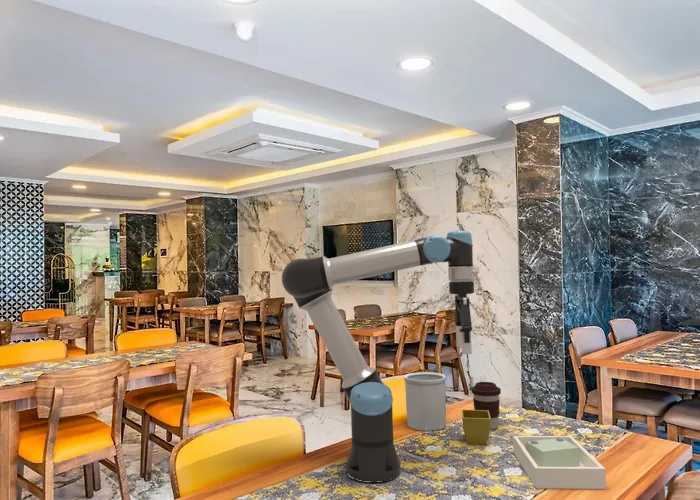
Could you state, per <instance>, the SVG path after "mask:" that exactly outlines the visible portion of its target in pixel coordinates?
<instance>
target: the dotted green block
mask: <svg viewBox="0 0 700 500" xmlns="http://www.w3.org/2000/svg"><path fill="white" fill-rule="evenodd" d="M527 452H528V453H529V454H530V456H531V457H532V459H533V460H534V462H535V463H536V464H537V466H538V467H577V466H580V458H579V447H577V446H575V445H573V444H571V443H570V442H568V441H566V440H564V439H562V438H556V439H546V440H537V441H528V442H527Z"/></svg>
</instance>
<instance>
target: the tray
mask: <svg viewBox="0 0 700 500" xmlns="http://www.w3.org/2000/svg"><path fill="white" fill-rule="evenodd" d="M556 438H562V439H564V440H566V441H568V442H570V443H571V444H573V445H575V446H577V447H579V458H580V466H577V467H538V466H537V464H536V463H535V462H534V460H533V459H532V457H531V456H530V454H529V453H528V452H527V442H528V441H537V440H546V439H556ZM512 442H513V443H512V444H513V445H512V446H513V454H514V455H515V457H516V459H517V460H518V462H519V464H520V466H521V467H522V468H523V470H524V471H525V473H526V475H527V477H528V478H529V480H530V481H531V483H532V484H533V486H534V488H535V489H558V490H559V489H561V490H562V489H564V490H566V489H567V490H569V489H570V490H572V489H573V490H574V489H575V490H607V479H606V478H607V477H606V468H605V467H604V466H603V465H602V464H601V463H600V462H599V461H598V460H597V459H596V458H595V457H594V456H593V455H592V454H591V453H589V452H588V450H586V448H584V446H582V444H581V443H579V442H578V441H577V440H576V439H575V438H574V437H573V436H572V435H513V436H512Z"/></svg>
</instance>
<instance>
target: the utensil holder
mask: <svg viewBox="0 0 700 500" xmlns="http://www.w3.org/2000/svg"><path fill="white" fill-rule="evenodd" d="M403 380H404V383H405V384H404V385H405V388H404V389H405V408H406V410H405V411H406V420H407V426H408V427H409V428H410V429H413V430H416V431H421V432H432V431H440V430H442V429H444V428H446V426H447V403H446V400H447V399H446V398H447V397H446V395H447V394H446V380H447V376H446V375H445V374H443V373H439V372H432V371H430V372H429V371H422V372H412V373H411V372H410V373H407V374H405V375H404V376H403Z"/></svg>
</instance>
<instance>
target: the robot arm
mask: <svg viewBox="0 0 700 500" xmlns="http://www.w3.org/2000/svg"><path fill="white" fill-rule="evenodd" d="M473 246H474V245H473V238H472V233H471V232H470V231H468V230H455V231H453V230H452V231H448V232H447V233H446V237H445V236H442V235H440V234H439V235H438V234H433V235H430V236H427V237H426V236H425V237H422V238H421V237H420V238H412V239H410V240H407V241H403V242H399V243H394V244H391V245H385V246H380V247H377V248H372V249H367V250H363V251H358V252H353V253H350V254H345V255H339V256H335V257H331V258H328V257H327V256H325V255H323V256H319V257H310V258H296V259H294V260H291V261H290V262H289V263H287V264H286V266H285V267H284V268H283V271H282V274H281V282H282V286H283V288H284V291H286V292H287V294H289V295H290V296H292V297H293V299H294V300H295V302H296V304H297V306H298V308H299V309H300V310H303V311H305V312H307V313H306V314H307V315H308V316H309V318H310V320H311V322H312V323H313V325H314V328H315V329H316V331H317V334H318V335H319V337H320V338H321V340H322V342H323V344H324V346H325V348H326V350H327V352H328V354H329V355H330V357H331V359H332V362H333V363H334V365H335V367H336V369H337V370H338V372H339V374H340V376H341V378H342V385H341V388H342V390H343V392H344V394H345V396H346V398H347V400H348V401H349V403H350V419H351V420H350V422H351V423H350V424H351V425H350V426H351V447H350V449H349V453H348V457H347V460H346V465H345V467H346V471H347V472H346V474H347V473H348V474H349V475H350V476H351V477H353V478H355V479H358V480H362V481H371V482H377V481H387V480H390V481H392V480H391V479H393V478H395V479H397V478H398V477H399V476H400V475H401V472H402V470H401V469H402V466H401V461H400V458H399V455H398V453H397V450H396V446H395V444H394V442H395V441H394V421H393V420H394V418H393V415H394V414H393V402H394V399H393V393H392V390H391V388H390V387H389V386H388V385H386V384H385V383H384V382H383V381H382V379H381V377H380V376H379V374H378V371H377V370H376V368H375V367H374V366H370V365H368V364H367V362H366V360H365V358H364V356H363V354H362V353H361V350H360V349H359V347H358V345H357V343H356V342H355V339H354V338H353V335H352V334H351V332H350V330H349V328H348V327H347V325H346V323H345V321H344V319H343V317H342V316H341V314H340V312H339V310H338V308H337V307H336V305H335V303H334V301H333V299H332V294H333V287H334V286H335V285H339V284H344V283H347V282H353V281H357V280H361V279H366V278H371V277H376V276H380V275H383V274H389V273H393V272H398V271H402V270H406V269H411V268H416V267H420V266H426V265H430V264H435V263H436V264H437V263H438V264H439V263H447V265H448V266H447V269H448V270H447V273H448V280H449V282H448V292H449V294H450V295H455V296H454V304H455V305H454V324H455V337H456V338H455V339H456V341H455V343H456V347H457V348H459V347H461V354H462V355H473V354H472V353H473V350H472V349H473V348H472V347H473V346H472V330H473V326H472V316H471V310H470V309H471V308H470V298H469V297H467V296H468V295H472V294H474V293H475V282H474V281H472V280H474V273H476V270H475V269H474V264H473V262H474V259H473V257H474V256H473ZM397 476H398V477H397ZM396 477H397V478H396ZM393 480H394V479H393ZM387 482H388V481H387Z"/></svg>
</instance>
